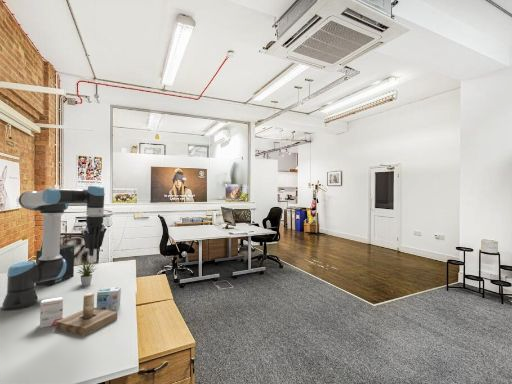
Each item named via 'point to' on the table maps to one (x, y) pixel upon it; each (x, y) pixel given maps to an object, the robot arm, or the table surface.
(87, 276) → the house plant
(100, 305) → the light bulb box
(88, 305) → the peg
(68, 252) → the headset box
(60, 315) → the ink box
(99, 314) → the board
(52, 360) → the table surface
